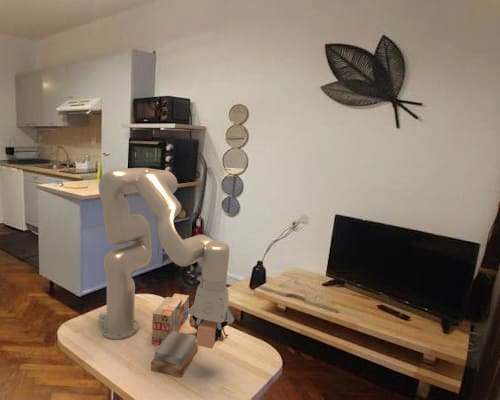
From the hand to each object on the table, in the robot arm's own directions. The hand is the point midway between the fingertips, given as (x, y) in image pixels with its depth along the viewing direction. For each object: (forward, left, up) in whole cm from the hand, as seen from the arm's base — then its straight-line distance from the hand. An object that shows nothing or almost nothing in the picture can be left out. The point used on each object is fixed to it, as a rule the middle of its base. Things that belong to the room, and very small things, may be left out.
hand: (208, 336), depth 104 cm
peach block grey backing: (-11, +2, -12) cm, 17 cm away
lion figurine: (-6, +17, -13) cm, 22 cm away
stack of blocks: (-20, +18, -13) cm, 30 cm away
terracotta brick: (0, 0, -1) cm, 1 cm away
